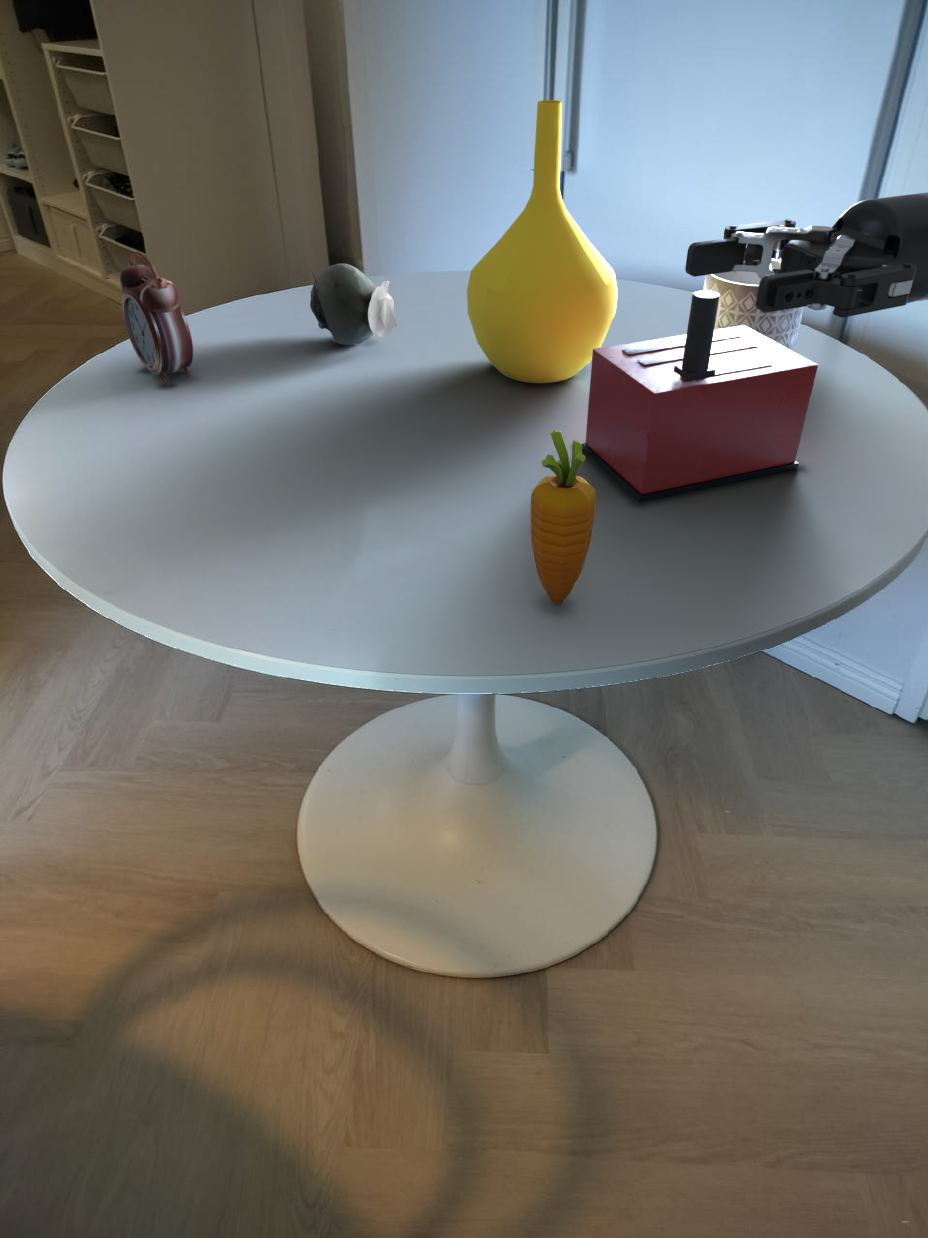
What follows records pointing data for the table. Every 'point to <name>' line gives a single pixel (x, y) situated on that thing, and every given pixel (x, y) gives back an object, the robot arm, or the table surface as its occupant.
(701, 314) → the slider
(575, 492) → the carrot
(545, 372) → the vase
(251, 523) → the table surface
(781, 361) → the knife block
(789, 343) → the planter
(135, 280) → the alarm clock
